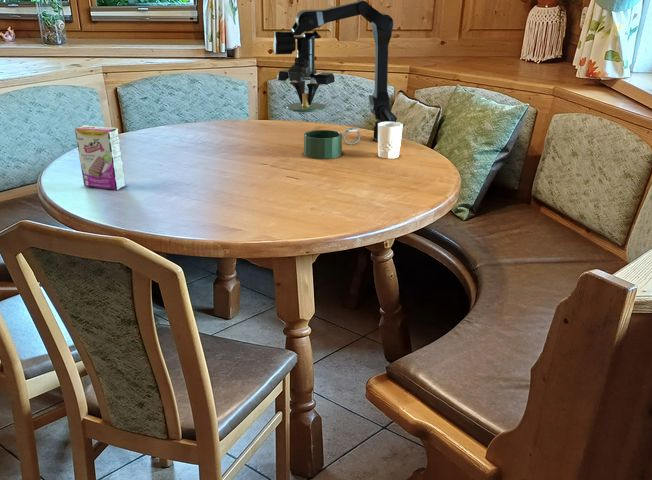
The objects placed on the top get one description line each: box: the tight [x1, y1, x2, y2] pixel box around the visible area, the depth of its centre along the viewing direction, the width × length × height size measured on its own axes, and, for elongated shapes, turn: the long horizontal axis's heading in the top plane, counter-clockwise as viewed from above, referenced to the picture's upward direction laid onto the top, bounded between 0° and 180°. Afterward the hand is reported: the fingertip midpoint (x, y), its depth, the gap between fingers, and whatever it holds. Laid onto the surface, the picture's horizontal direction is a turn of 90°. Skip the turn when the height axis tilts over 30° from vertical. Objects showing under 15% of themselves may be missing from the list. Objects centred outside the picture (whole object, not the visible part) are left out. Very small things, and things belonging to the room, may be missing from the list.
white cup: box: [377, 121, 404, 159], centre depth 233 cm, size 8×8×10 cm
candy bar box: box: [74, 124, 126, 191], centre depth 204 cm, size 11×5×16 cm, turn 71°
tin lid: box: [285, 92, 327, 113], centre depth 243 cm, size 13×13×5 cm
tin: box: [303, 129, 343, 160], centre depth 236 cm, size 12×12×6 cm
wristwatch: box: [342, 127, 361, 145], centre depth 249 cm, size 6×3×5 cm, turn 108°
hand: (305, 104), depth 243 cm, fingers closed on tin lid, 2 cm apart
